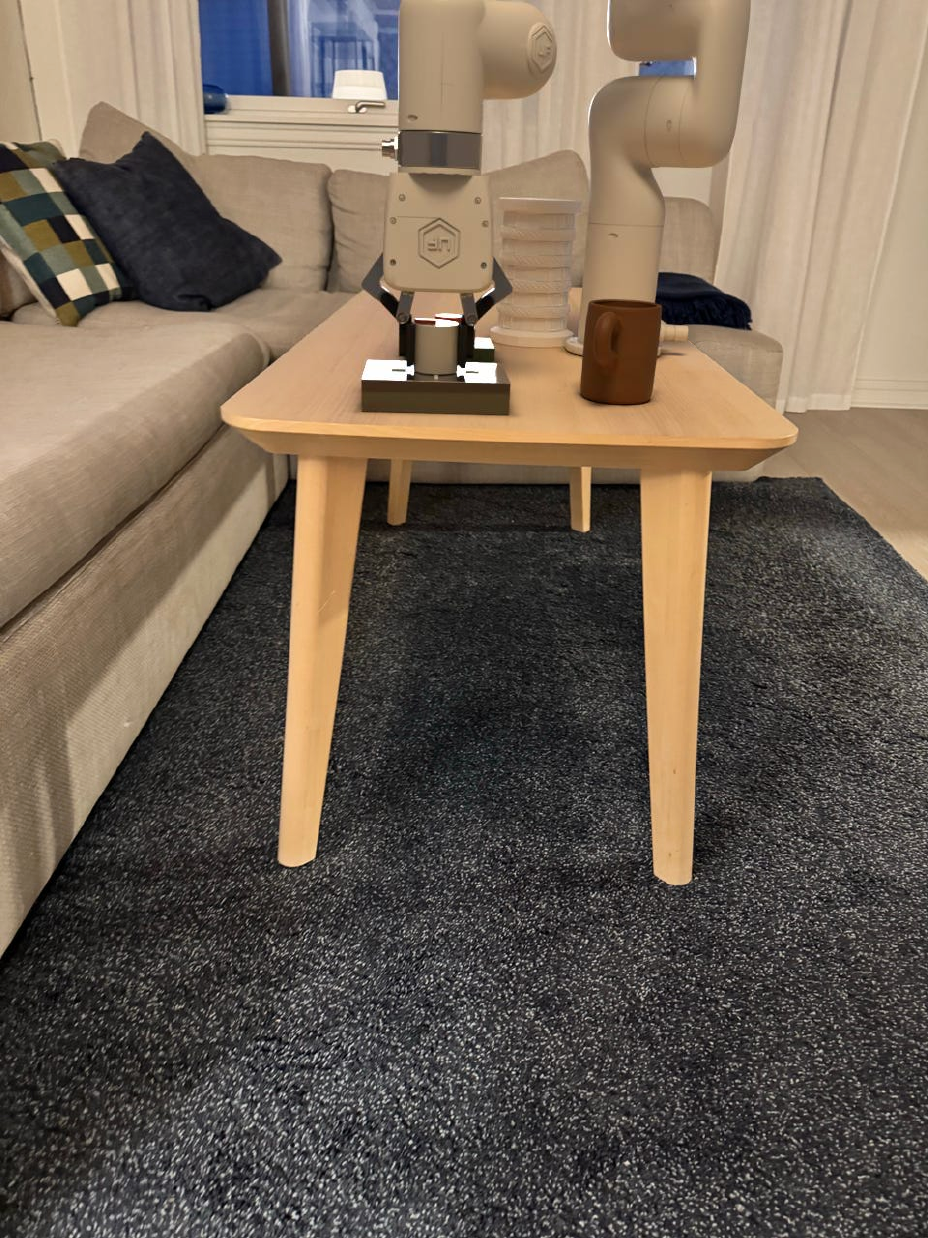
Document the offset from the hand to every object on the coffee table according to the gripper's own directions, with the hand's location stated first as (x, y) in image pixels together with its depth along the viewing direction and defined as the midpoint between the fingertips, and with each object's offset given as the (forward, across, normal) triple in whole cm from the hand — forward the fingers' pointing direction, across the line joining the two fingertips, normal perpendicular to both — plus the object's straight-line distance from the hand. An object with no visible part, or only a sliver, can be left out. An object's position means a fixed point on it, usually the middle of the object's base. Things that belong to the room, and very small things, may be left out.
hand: (435, 363), depth 89 cm
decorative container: (+4, +14, +40) cm, 43 cm away
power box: (+4, +2, +26) cm, 26 cm away
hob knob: (+1, 0, 0) cm, 1 cm away
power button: (+1, +2, +26) cm, 26 cm away
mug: (+4, +18, +2) cm, 19 cm away
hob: (+4, 0, 0) cm, 4 cm away
